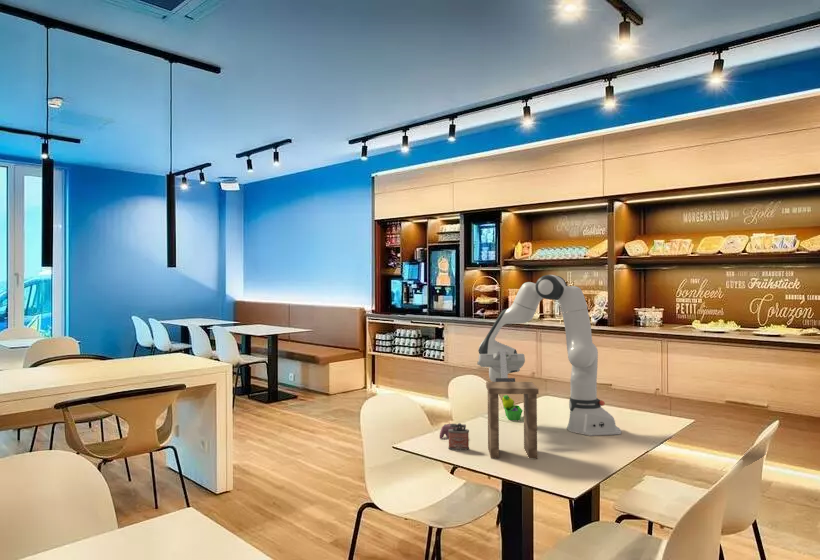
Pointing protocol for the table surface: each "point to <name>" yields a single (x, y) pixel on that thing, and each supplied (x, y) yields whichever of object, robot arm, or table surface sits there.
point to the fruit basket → (511, 408)
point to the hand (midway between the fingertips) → (502, 352)
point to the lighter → (458, 437)
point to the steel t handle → (503, 368)
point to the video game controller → (445, 430)
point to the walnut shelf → (529, 414)
